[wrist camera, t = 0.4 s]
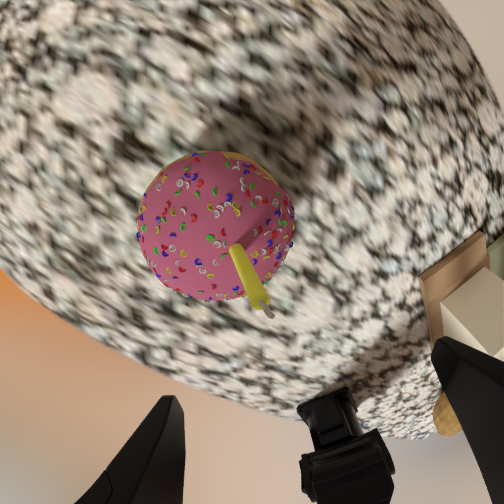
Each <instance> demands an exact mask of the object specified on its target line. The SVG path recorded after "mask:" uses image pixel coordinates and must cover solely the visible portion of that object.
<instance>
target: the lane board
mask: <svg viewBox="0 0 504 504" xmlns="http://www.w3.org/2000/svg"><path fill="white" fill-rule="evenodd" d="M483 267H486V268H487V269H489V270H490V271H491V272H493V273H494V274H495V275H497V276H498V277H499V278H501V279H502V280H503V281H504V233H503V234H502V235H501V236H500V237H499V238H498V239H497V240H496V241H494V242H493V243H492V244H491V245H490V246H489V247H488V248H487V249H486V238H485V234H484V233H482V232H481V231H478V232H477V233H475V234H474V235H473V236H472V237H470V238H469V239H468V240H467V241H465V242H464V243H463V244H462V245H460V246H459V247H458V248H456V249H455V250H454V251H453V252H451V253H450V254H449V255H447V256H446V257H445V258H443V259H442V260H440V261H439V262H438V263H436V264H435V265H434V266H432V267H431V268H429V269H428V270H427V271H425V272H424V273H422V274H421V275H419V276H418V278H419V283H420V287H421V292H422V297H423V302H424V307H425V312H426V318H427V324H428V330H429V336H430V344H431V351H432V350H433V346H434V343H435V341H436V339H437V338H440V337H442V336H444V332H443V322H442V313H441V305H440V302H441V301H442V300H444V299H445V298H446V297H448V296H449V295H450V294H451V293H453V292H454V291H455V290H457V289H458V288H459V287H460V286H462V285H463V284H464V283H465V282H467V281H468V280H469V279H470V278H471V277H473V276H474V275H475V274H476V273H477V272H479V271H480V270H481V269H482V268H483Z"/></svg>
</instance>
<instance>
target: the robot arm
mask: <svg viewBox="0 0 504 504" xmlns="http://www.w3.org/2000/svg"><path fill="white" fill-rule="evenodd" d="M431 361H432V364H433V366H434V368H435V371H436V373H437V376H438V378H439V381H440V383H441V386H442V388H443V390H444V393H445V395H446V397H447V399H448V401H449V403H450V405H451V407H452V409H453V411H454V413H455V415H456V417H457V419H458V421H459V423H460V425H461V427H462V429H463V431H464V433H465V436H466V438H467V440H468V442H469V444H470V447H471V449H472V451H473V454H474V456H475V458H476V461H477V463H478V466H479V468H480V471H481V473H482V476H483V479H484V481H485V484H486V486H487V490H488V492H489V495H490V498H491V501H492V504H504V362H503V361H501V360H499V359H497V358H495V357H493V356H490V355H488V354H486V353H484V352H482V351H479V350H477V349H475V348H473V347H471V346H468V345H466V344H464V343H462V342H459V341H457V340H455V339H453V338H451V337H448V336H442V337H440V338H437V339H436V341H435V343H434V346H433V350H432V353H431ZM357 412H358V410H357V407H356V405H355V402H354V399H353V397H352V394H351V392H350V390H349V388H348V387H345V388H343V389H340V390H338V391H336V392H334V393H331V394H329V395H327V396H324V397H322V398H319V399H317V400H314V401H312V402H309V403H307V404H304V405H301V406H299V407H297V413H298V414H299V415H300V417H301V418H302V419H303V420H304V422H305V423H306V424H307V426H308V427H309V430H310V434H311V437H312V441H313V445H314V449H315V452H311V453H308V454H302V455H301V457H302V459H301V460H300V461H299V464H300V469H301V487H302V488H301V489H302V492H303V493H305V494H307V495H308V497H309V498H310V500H311V501H312V502H317V504H390V501H391V497H392V494H393V490H394V483H393V480H392V477H391V475H393V474H395V468H394V464H393V461H392V458H391V455H390V453H389V451H388V449H387V447H386V445H385V443H384V441H383V439H382V437H381V435H380V434H379V432H378V430H377V428H375V429H373V430H372V431H370V432H367V433H365V434H364V433H363V431H362V428H361V426H360V423H359V421H358V418H357V416H356V413H357ZM185 455H186V452H185V431H184V412H183V409H182V407H181V406H180V403H179V402H178V400H177V398H176V397H175V396H174V395H164V396H162V397H161V398H160V399H159V400H158V402H157V403H156V405H155V406H154V407H153V408H152V410H151V411H150V412H149V414H148V415H147V416H146V418H145V419H144V420H143V421H142V423H141V424H140V425H139V427H138V428H137V429H136V431H135V432H134V433H133V434H132V436H131V437H130V438H129V440H128V441H127V442H126V443H125V445H124V446H123V447H122V449H121V450H120V451H119V453H118V454H117V455H116V457H115V458H114V459H113V460H112V461H111V463H110V464H109V465H108V467H107V468H106V470H104V472H103V473H102V474H101V475H100V477H99V478H98V479H97V480H96V481H95V483H94V484H93V485H92V486H91V487H90V488H89V489H88V491H86V492H85V494H84V495H83V496H82V497H81V498H80V499H79V500H77V501H76V502H75V503H74V504H182V503H183V487H184V470H185Z"/></svg>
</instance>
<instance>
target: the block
mask: <svg viewBox="0 0 504 504" xmlns="http://www.w3.org/2000/svg"><path fill="white" fill-rule="evenodd" d="M440 305H441V313H442V322H443V332H444V336H448V337H451V338H453V339H455V340H457V341H459V342H462V343H464V344H466V345H468V346H471V347H473V348H475V349H477V350H479V351H482V352H484V353H486V354H488V355H490V356H493V357H495V358H497V359H499V360H501V361H503V362H504V281H503V280H502V279H501V278H499V277H498V276H497V275H495V274H494V273H493V272H491V271H490V270H489V269H487V268H486V267H483V268H482V269H481V270H480V271H479V272H477V273H476V274H475V275H474V276H473V277H471V278H470V279H469V280H468V281H467V282H465V283H464V284H463V285H462V286H460V287H459V288H458V289H457V290H455V291H454V292H453V293H451V294H450V295H449V296H448V297H446V298H445V299H444V300H442V301H441V302H440Z"/></svg>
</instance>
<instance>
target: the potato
mask: <svg viewBox="0 0 504 504" xmlns="http://www.w3.org/2000/svg"><path fill="white" fill-rule="evenodd" d="M433 420H434V424H435V426H436V428H437V431H438V432H439V433H440V434H441V435H443V436H452V435H455V434H456V433H458V432H460V431H461V430H462V427H461V425H460V423H459V421H458V419H457V417H456V415H455V413H454V411H453V409H452V407H451V405H450V403H449V401H448V399H447V397H446V395H445V393H444V392H443V394H442V395H441V396H440V397H439V399H438V400H437V402H436V404H435V405H434V410H433Z"/></svg>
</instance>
